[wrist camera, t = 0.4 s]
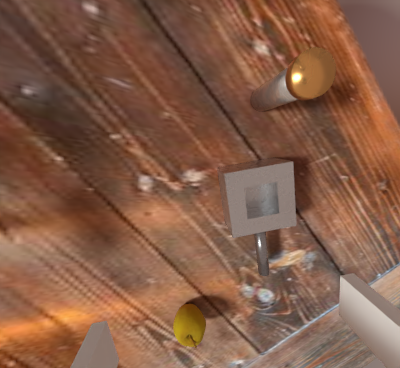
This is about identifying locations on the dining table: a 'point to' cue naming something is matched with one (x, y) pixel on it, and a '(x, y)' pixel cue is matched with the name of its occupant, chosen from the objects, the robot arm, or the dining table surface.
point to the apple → (189, 325)
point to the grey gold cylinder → (297, 80)
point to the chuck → (258, 201)
